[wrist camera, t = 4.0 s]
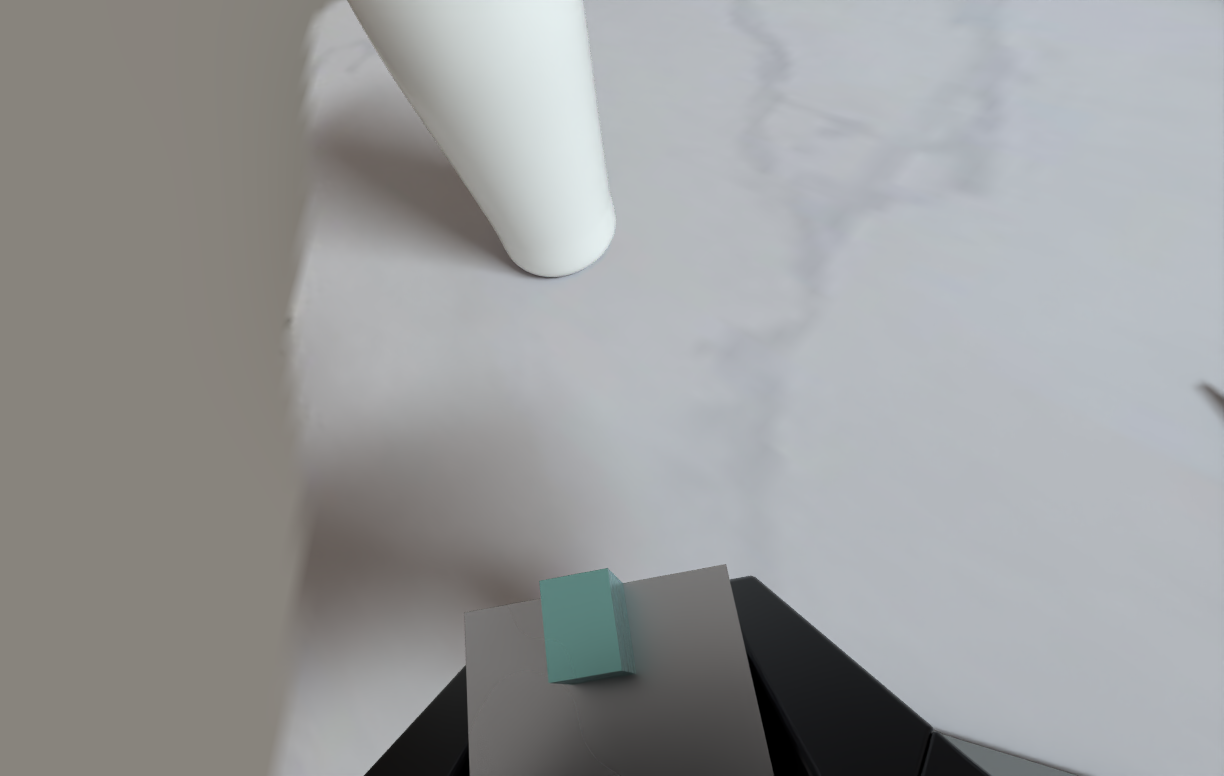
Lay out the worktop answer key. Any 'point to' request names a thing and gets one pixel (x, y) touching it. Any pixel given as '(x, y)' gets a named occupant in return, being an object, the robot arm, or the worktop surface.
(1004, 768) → the mat
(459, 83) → the white tumbler
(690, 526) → the worktop surface
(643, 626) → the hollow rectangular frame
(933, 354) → the worktop surface
